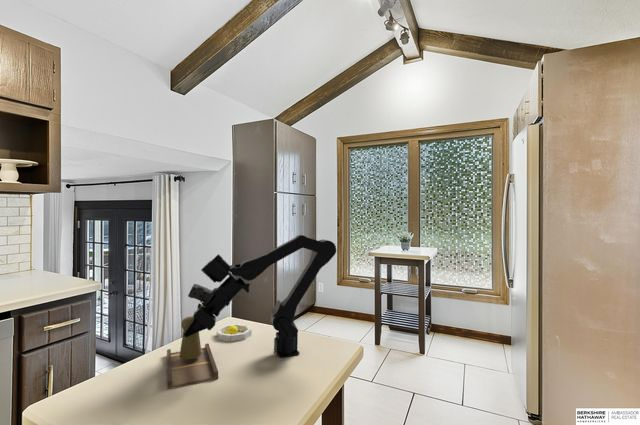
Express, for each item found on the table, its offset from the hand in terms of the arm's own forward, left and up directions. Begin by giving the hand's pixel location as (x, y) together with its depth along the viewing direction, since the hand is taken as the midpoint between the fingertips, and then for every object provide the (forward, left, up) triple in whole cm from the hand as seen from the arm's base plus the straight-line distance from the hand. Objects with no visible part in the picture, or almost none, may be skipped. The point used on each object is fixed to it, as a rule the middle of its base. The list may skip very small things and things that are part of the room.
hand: (186, 332), depth 92 cm
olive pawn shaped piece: (-1, 0, -7) cm, 7 cm away
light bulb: (-15, -16, -9) cm, 24 cm away
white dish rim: (-17, -16, -8) cm, 25 cm away
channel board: (-1, +4, -8) cm, 9 cm away
